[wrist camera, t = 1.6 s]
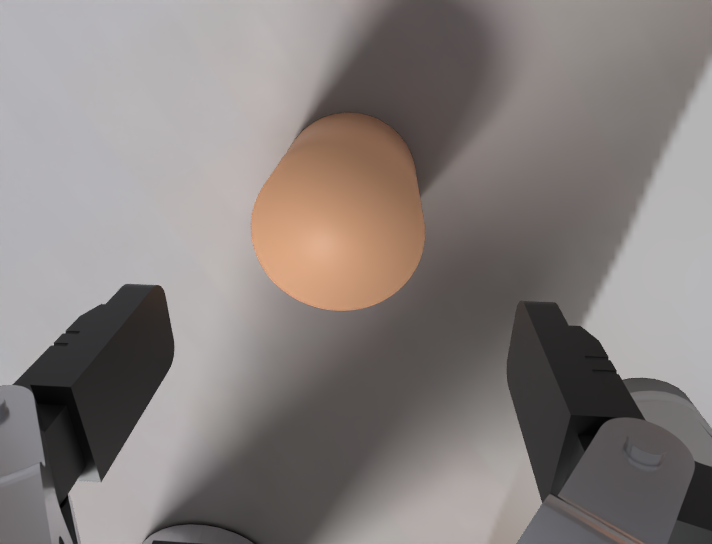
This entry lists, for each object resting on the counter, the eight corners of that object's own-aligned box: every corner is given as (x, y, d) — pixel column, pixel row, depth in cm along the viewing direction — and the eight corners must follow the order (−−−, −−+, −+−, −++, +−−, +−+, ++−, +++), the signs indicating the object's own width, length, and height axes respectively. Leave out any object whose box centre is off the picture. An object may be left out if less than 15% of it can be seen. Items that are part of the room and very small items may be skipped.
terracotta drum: (372, 262, 24) (368, 336, 18) (262, 201, 23) (223, 262, 17) (442, 157, 21) (460, 208, 16) (322, 85, 20) (299, 113, 15)
